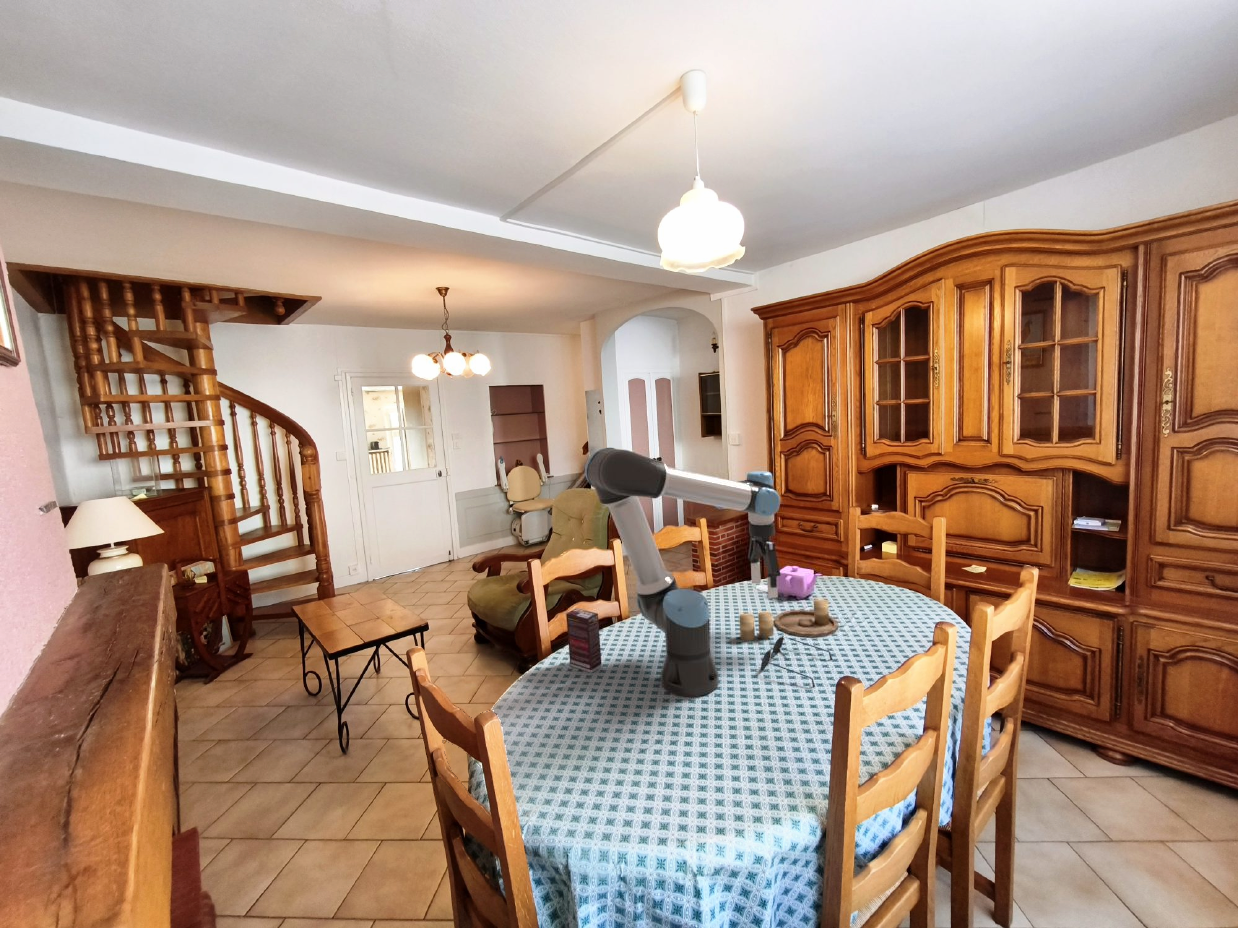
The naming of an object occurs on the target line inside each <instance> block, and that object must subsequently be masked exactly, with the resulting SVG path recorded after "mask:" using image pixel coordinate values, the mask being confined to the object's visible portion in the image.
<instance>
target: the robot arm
mask: <svg viewBox="0 0 1238 928" xmlns="http://www.w3.org/2000/svg"><path fill="white" fill-rule="evenodd" d="M584 475H585V479H586V480H587V482H588V483H589V484H590V486H591V487H593V488H594V489H595V492H596V494H597V497H598V499H599V502H600V504H601V505H602V506H605V507H607V508H608V510H609V512H610V515H611V517H612V519H613V522H614V525H615V527H616V529H617V533H618V536H620V537H619V538H620V541H621V542H622V546H623V548H624V550H625V552H626V555H627V557H628V561H629V563H630V565H631V568H632V570H633V572H634V575H635V578H636V580H637V583H636V584H635V588H634V590H635V593H636V605H637V609H638V610H639V612H640V614H641V615H642V616H643V617H644V618H645V619H646V620H647V621H648V622H650V623H651V624H653V625H654V626H655V627H656V628H658V629H659V630H660V631H661V632H662V633H664V635H665V637H664V638H665V652H666V653H665V657H664V661H663V665H662V668H661V673H660V679H661V680H660V681H661V686H662V687H663V688H664V689H665V690H666V691H667V692H669V693H671V694H674V695H677V696H682V697H700V696H704V695H707V694H710V693H712V692H714V691H715V690H716V689H717V688H718V686H719V683H720V681H719V680H720V679H719V678H720V677H719V671H718V669H717V666H716V662H715V661H714V658H713V656H712V650H711V629H710V625H711V624H710V615H711V614H710V607H709V602H708V599H707V598H706V596H705V595H703V594H702V593H701V592H699V591H697V590H690V589H689V588H679V586H678V582H677V580H676V577H675V575H674V574H673V572H671V571H668V570H667V569H666V566H665V564H664V560H663V558H662V556H661V554H660V551H659V549H658V545H657V544H656V541H655V538H654V535H653V533H652V530H651V528H650V524H649V522H648V519H647V517H646V514H645V512H644V508H643V507H642V503H641V501H640V499H639V497H640V498H641V497H642V498H651V499H654V500H655V499H658V498H659V497H665V498H670V499H671V498H672V499H676V500H677V499H678V500H683V501H687V502H692V503H697V504H703V505H707V506H712V507H713V506H714V507H715V508H716V509H718V510H728V509H730V510H735V511H740V512H745V513H748V517H747V518H748V521H749V524H748V530H749V531H748V534H749V535H750V540H749V541H750V542H749V548H748V552H747V553H748V554H747V559H748V560H749V561H750V569H751V570H750V573H751V584H760V583H761V582H762V581H761V580H762V579H761V563H760V562H761V557H762V558H763V561H764V565H765V567H766V572H767V574H766V575H765V576H766V578H767V579H766V580H767V581H766V582H767V598H768V599H773V598H778V596H779V595H778V594H779V593H778V590H777V576H780V575H781V574H780V570H781V569H780V566H779V561H778V555H777V552H776V543H775V542H774V541H773V542H771V537H773V536H775V534H776V529H775V523H774V521H775V514H776V513H777V512H778V511H779V509H780V506H781V498H780V495H779V493H778V492H777V490H775V489H774V480H773V474H772V473H771V472H770V471H766V470H763V471H762V470H760V471H759V470H757V471H756V470H755V471H750V472H748V473H747V474H746V479H744V480H739V481H738V480H737V481H735V480H731V479H725V478H722V477H716V476H713V475H709V474H703V473H700V472H699V473H698V472H694V471H690V470H685V469H680V468H675V467H671V466H667V465H666V462H664V461H661V460H657V459H653V458H652V457H651V458H650V457H647V456H644V455H642V454H640V453H636V452H634V451H631V450H627V449H621V448H620V449H619V448H615V447H605V448H604V447H603V448H599V449H597V450H596V451H594V452H592V453H591V454H590V456H589V457H588V458H587V460H586V463H585V467H584Z"/></svg>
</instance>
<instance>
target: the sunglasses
mask: <svg viewBox="0 0 1238 928" xmlns="http://www.w3.org/2000/svg"><path fill="white" fill-rule="evenodd" d="M784 638H786V639H788V640H791V641H795V642H797V643H800V644H803V645H806V646H808V647H811V648H815V649H818V650H820V651H824V652H827V653H828V654H829V660H832V661H833V658H832V654H831V652H830V650H826V649H824V648H821V647H818V646H815V645H812V644H809V643H806V642H802V641H800V640H797V639H793V638H789V637H786V636H783V635H781V636H779V638H777V640H776V641H775V642H774V645H773V647H772V648H773V649H769V650H767V651H765V653H764V654H763V656H762V660H761V664H760V671H761V672H763V671H764V670H765V669H766V667H767V666H768V665H769V664H770V665H772V666H776V667H778V668H781V669H783V670H786V671H789V672H792V673H795V674H796V675H800V676H802V677H805V678H807V679H810V680H811V684H812V688H816V685H815V681H814V679H813V678H812V676H809V675H806V674H804V673H801V672H797V671H795V670H793V669H791V668H790V669H789V668H787V667H784V666H782V665H778V664H776V663H773V662H770V660H773V659H774V657H775V656H777V655H778V653H779V652H780V651H781V648H782V646H783V643H784Z"/></svg>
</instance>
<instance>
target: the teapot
mask: <svg viewBox="0 0 1238 928" xmlns="http://www.w3.org/2000/svg"><path fill="white" fill-rule="evenodd" d="M780 574H781V575H780V576H777V590H778V594H782V597H784V598H789V597H790V596H793V597H796V599H797V600H799V601H801V600H804V599H805V598H806V597H807V596H809V595H811V594H812V593H813V592H814V591H815V585H816V584H817V583H816V582H817V579H818V578H819V577H820V576H823V574H821V573H815V574H814V569H809V568H803V567H799V566H795V565H793V566H791V565H786V566H784V567H783V568H782V569H780Z"/></svg>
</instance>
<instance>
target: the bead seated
mask: <svg viewBox="0 0 1238 928" xmlns="http://www.w3.org/2000/svg"><path fill="white" fill-rule="evenodd" d="M813 611H814V623H815V624H817V625H828V624H829V615H830V609H829V601H828V600H827V599H823V598H816V599H814V600H813Z"/></svg>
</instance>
